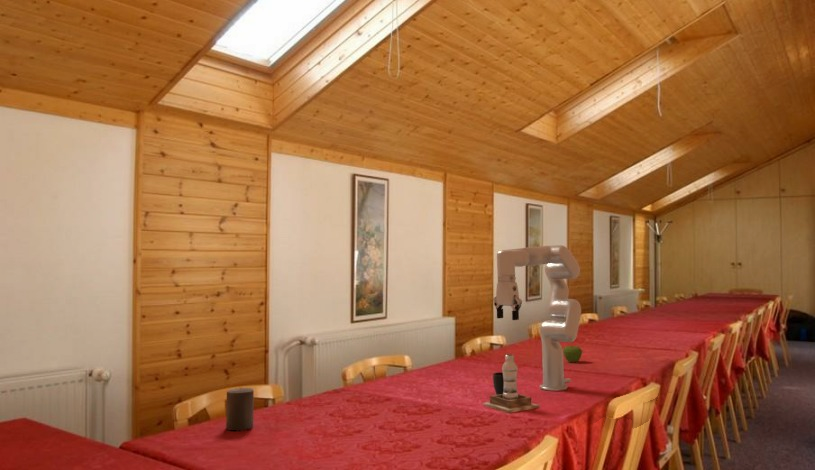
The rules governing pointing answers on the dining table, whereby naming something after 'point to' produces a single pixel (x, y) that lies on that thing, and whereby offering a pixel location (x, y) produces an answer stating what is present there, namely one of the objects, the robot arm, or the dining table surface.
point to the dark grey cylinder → (239, 409)
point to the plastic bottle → (510, 378)
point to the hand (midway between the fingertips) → (507, 319)
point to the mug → (498, 382)
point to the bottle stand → (510, 403)
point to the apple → (572, 353)
